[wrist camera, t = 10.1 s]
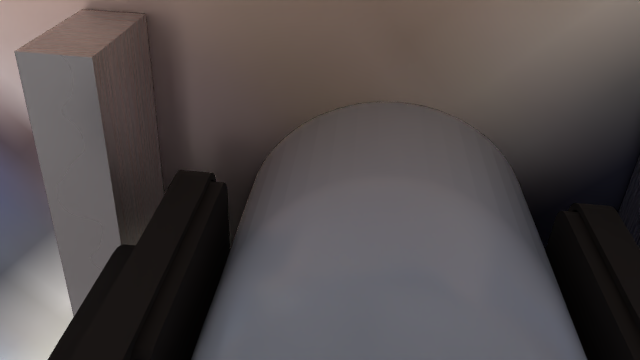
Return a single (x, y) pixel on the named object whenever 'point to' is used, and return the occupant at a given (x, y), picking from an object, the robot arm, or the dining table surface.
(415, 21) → the dining table surface
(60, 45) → the lane
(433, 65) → the dining table surface
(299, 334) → the jar
